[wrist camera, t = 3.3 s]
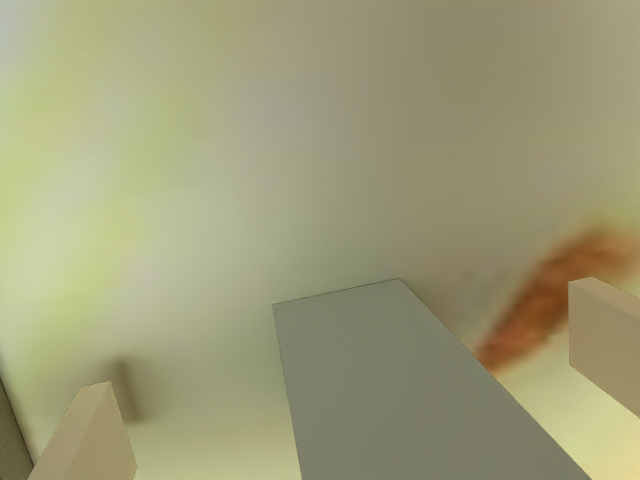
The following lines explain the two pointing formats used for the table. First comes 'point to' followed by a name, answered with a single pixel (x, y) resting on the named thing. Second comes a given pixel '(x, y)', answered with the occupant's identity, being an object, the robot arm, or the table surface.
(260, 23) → the table surface
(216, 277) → the table surface
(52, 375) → the table surface
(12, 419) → the rail
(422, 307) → the block
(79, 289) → the table surface
